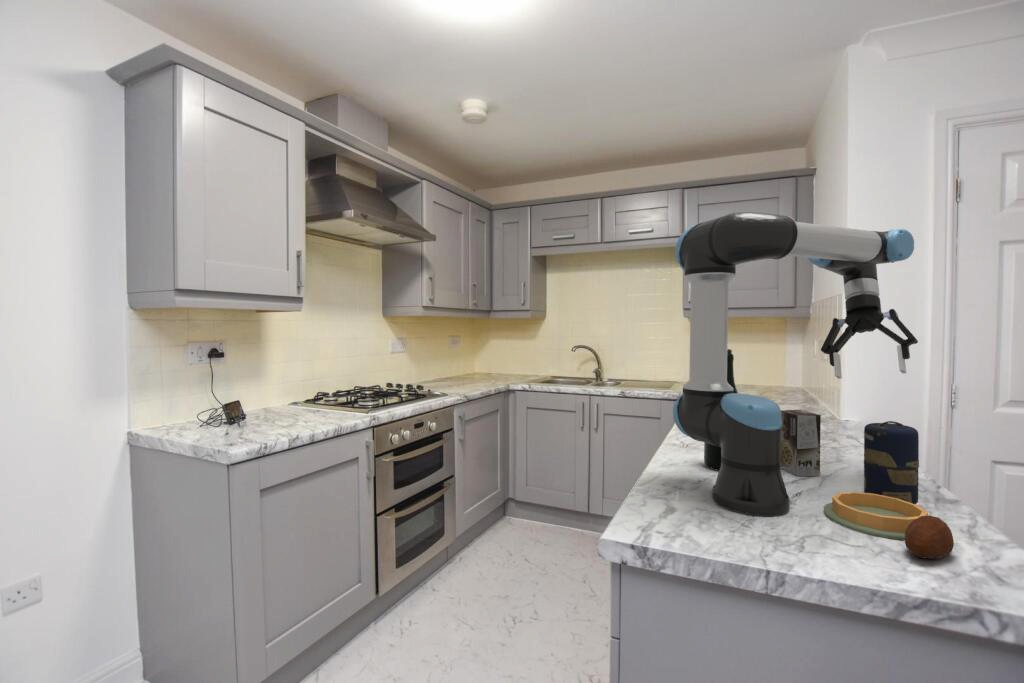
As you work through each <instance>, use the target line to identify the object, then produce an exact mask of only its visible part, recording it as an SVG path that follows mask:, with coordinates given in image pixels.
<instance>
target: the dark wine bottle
mask: <svg viewBox="0 0 1024 683" xmlns="http://www.w3.org/2000/svg"><path fill="white" fill-rule="evenodd" d="M732 352H733V351H732V349H729V348H727V382H728V383H729V384H730V385H731V386H732V387H733V389H734V393H739V392H738V390H737V385H736V381H735V375H734V374H735V373H734V360H735V355H734V354H733V353H732ZM703 464H704V465H705V466H706V467H707V468H709V469H711V468H712V469H711V470H716V471H719V470H720V467H721V447H718V446H715V445H712V444H708V443H705V442H703Z"/></svg>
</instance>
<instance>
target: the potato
mask: <svg viewBox="0 0 1024 683" xmlns="http://www.w3.org/2000/svg"><path fill="white" fill-rule="evenodd" d="M904 544H905V546H906V548H907V550H908V551H909V552H911V554H913V555H915V556H917V557H920V558H923V559H939V558H943V557H945V556H946V557H947V556H948V555H950V554H951V553H952V552H953V550H954V546H955V545H954V537H953V532H952V529H950V527H949V526H948V524H947V522H945V521H944V520H943V519H942V518H940V517H937V516H933V515H929V514H928V516H921V517H919V518H917V519H915V520H913V521H912V522H911V523H910V524H909V525H908V527H907V529H906V531H905V540H904Z"/></svg>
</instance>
